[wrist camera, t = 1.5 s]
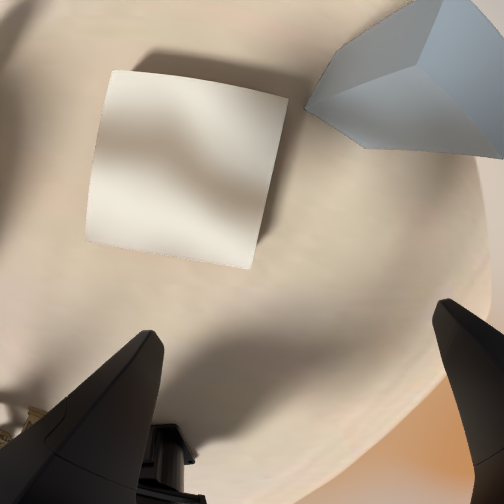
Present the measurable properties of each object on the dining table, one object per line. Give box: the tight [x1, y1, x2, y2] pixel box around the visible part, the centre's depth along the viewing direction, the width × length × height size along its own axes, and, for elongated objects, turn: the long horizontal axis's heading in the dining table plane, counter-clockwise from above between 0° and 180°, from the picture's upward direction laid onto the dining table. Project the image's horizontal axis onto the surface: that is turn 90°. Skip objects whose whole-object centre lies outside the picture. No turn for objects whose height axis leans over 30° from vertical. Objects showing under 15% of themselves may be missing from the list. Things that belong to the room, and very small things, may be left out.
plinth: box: [85, 70, 289, 270], centre depth 17 cm, size 10×10×2 cm
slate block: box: [304, 0, 504, 159], centre depth 13 cm, size 5×5×12 cm
